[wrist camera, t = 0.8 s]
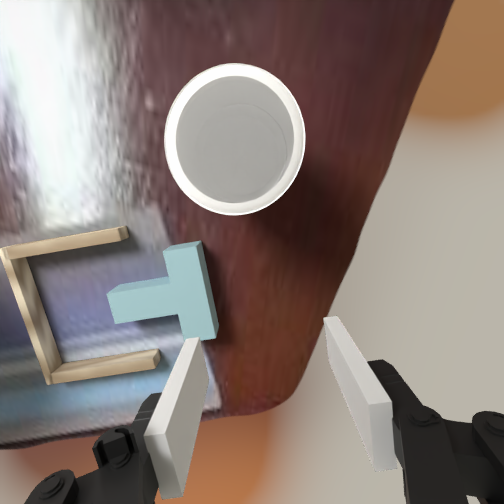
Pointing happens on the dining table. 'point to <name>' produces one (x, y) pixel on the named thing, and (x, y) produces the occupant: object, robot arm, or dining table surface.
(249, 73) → the jar
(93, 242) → the dock
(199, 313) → the t block
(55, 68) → the dining table surface
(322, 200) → the dining table surface
